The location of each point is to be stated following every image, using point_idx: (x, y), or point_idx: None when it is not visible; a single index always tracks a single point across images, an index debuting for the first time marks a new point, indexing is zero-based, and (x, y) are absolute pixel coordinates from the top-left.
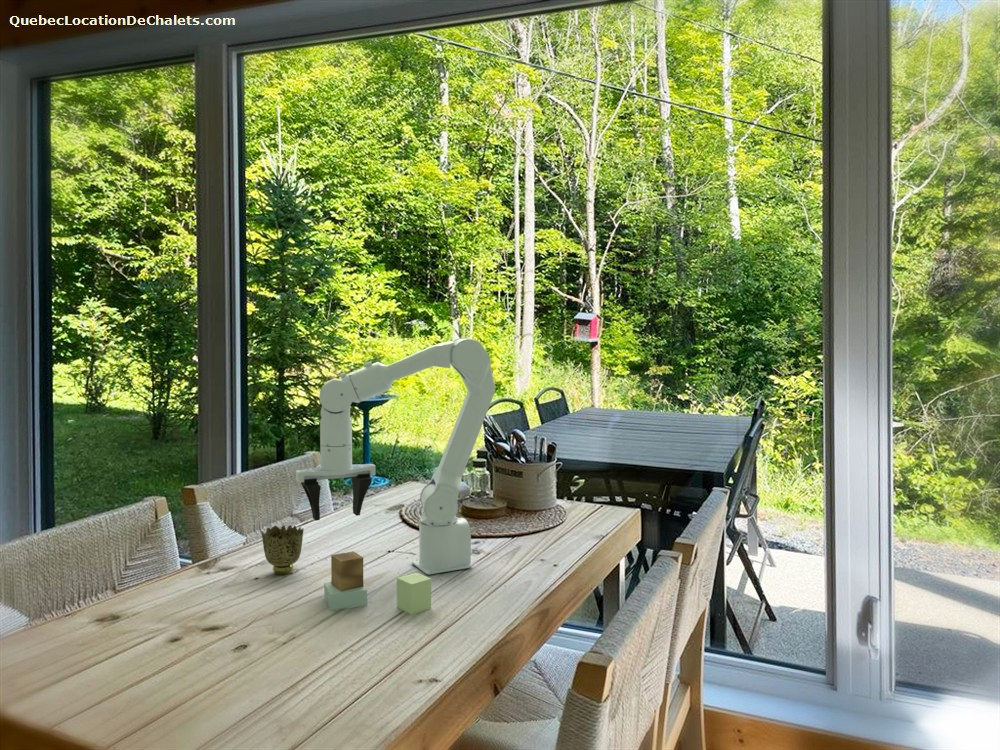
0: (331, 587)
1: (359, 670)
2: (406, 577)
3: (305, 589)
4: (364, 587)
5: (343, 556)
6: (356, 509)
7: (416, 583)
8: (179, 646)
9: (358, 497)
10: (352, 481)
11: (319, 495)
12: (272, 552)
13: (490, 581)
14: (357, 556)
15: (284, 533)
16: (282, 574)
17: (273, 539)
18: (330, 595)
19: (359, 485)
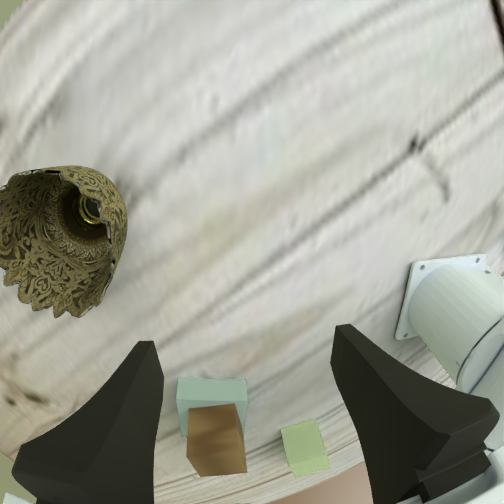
0: (186, 417)
1: (195, 493)
2: (301, 465)
3: (144, 332)
4: (243, 430)
5: (210, 464)
6: (339, 379)
7: (303, 474)
8: (22, 415)
9: (358, 434)
10: (414, 429)
11: (152, 486)
12: (45, 270)
13: (440, 373)
14: (237, 468)
15: (59, 173)
16: (95, 223)
17: (29, 298)
18: (181, 435)
19: (373, 492)
